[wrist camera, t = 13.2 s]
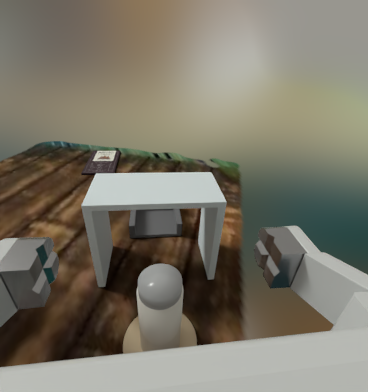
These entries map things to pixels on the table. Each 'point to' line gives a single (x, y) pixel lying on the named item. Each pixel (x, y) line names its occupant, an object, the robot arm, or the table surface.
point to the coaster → (134, 343)
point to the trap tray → (155, 223)
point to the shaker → (160, 307)
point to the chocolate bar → (101, 162)
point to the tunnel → (152, 199)
